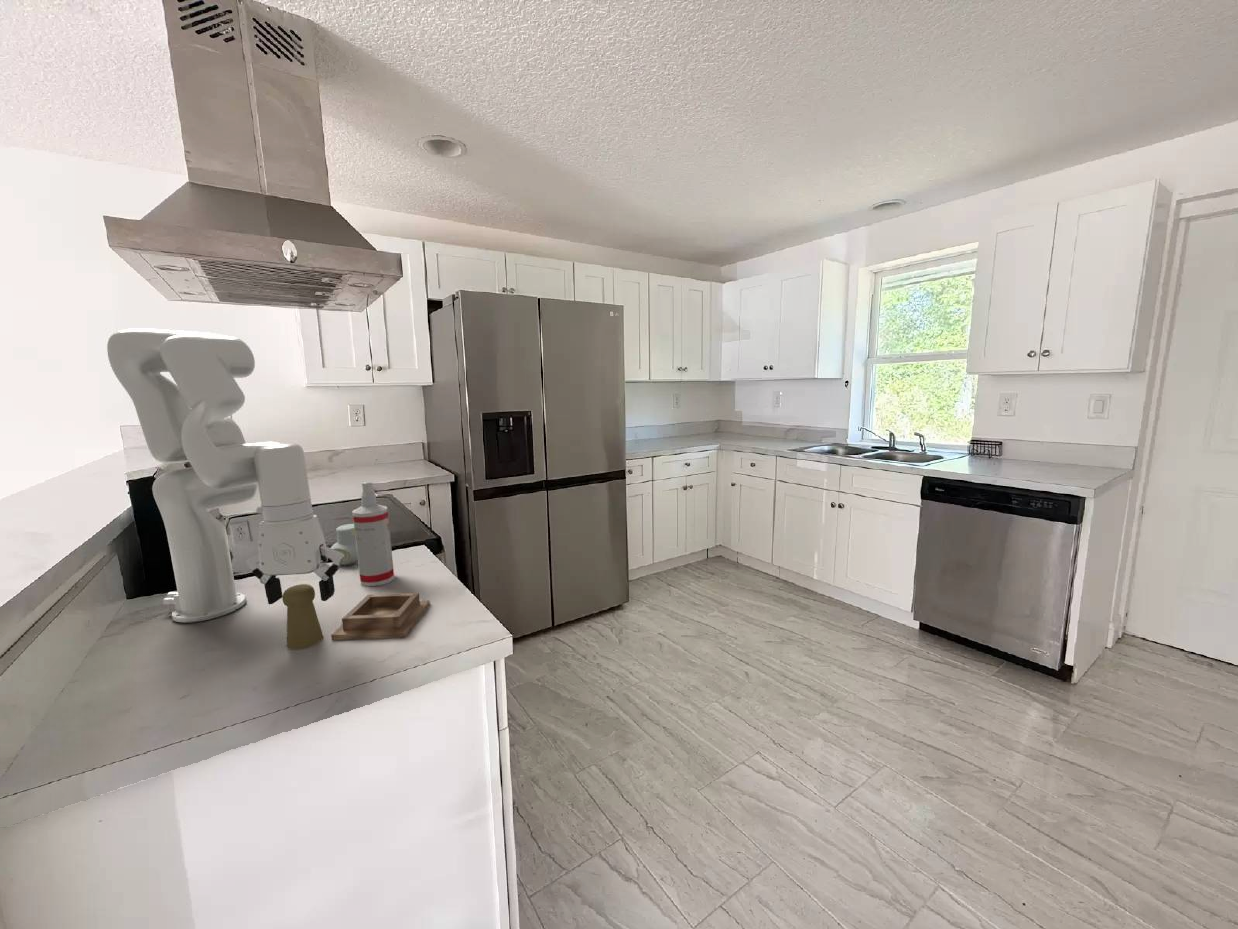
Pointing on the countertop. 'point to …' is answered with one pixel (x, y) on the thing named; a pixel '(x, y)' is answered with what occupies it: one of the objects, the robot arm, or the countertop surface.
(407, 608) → the walnut holder
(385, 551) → the white squeeze bottle
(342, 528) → the pale green rounded piece
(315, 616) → the cork
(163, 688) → the countertop surface
